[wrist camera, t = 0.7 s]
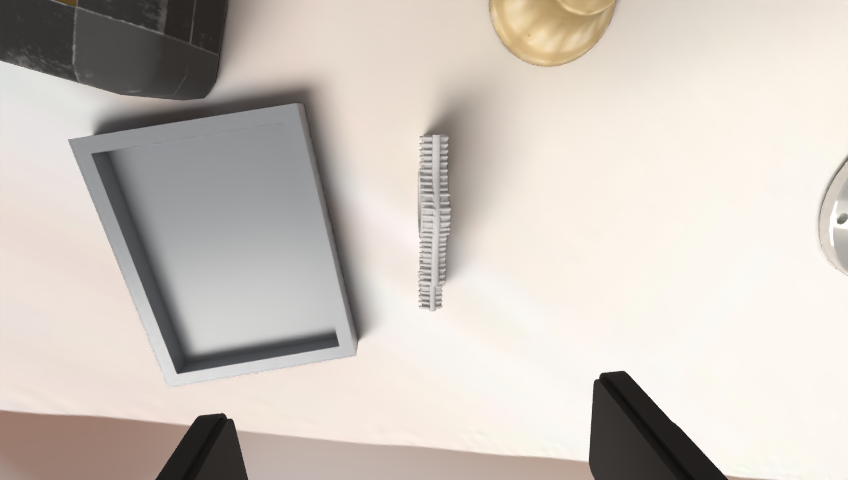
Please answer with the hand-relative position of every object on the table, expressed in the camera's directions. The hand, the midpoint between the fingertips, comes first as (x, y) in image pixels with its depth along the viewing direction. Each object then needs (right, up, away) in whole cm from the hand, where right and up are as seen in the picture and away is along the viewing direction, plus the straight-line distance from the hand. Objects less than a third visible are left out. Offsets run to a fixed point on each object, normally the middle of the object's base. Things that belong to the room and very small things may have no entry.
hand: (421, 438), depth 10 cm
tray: (-13, +4, +19) cm, 23 cm away
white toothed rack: (0, +7, +19) cm, 20 cm away
